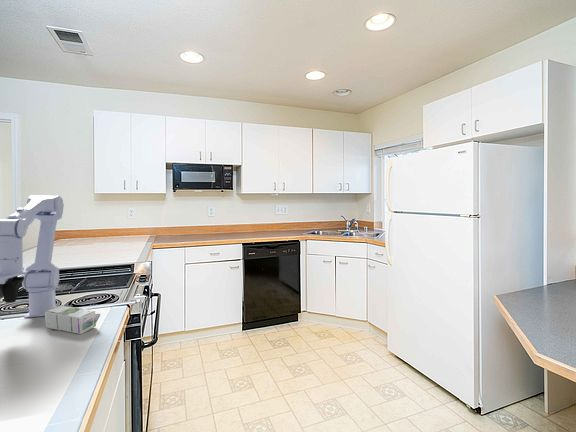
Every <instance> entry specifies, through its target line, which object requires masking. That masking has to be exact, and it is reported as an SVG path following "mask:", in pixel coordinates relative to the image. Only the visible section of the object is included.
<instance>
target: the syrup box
mask: <svg viewBox="0 0 576 432" xmlns="http://www.w3.org/2000/svg"><path fill="white" fill-rule="evenodd" d="M56 306H57V305H56ZM96 314H97V313H96V310H92V309H86V308H81V307H74V306H69V305H68V306H67V305H63V304H60V305H58V306H57V307H55V308H53V309H50V310H48V311H45V316H44V319H45V322H44V323H45V328H48V329H51V330H52V329H57V330H56V331H63V332H68V333H74V334H80V335H82V334H84V333H86V332H88V331H90V330H91V329H93V328H95V327H96V326H97V321H96Z"/></svg>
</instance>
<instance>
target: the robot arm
mask: <svg viewBox="0 0 576 432" xmlns="http://www.w3.org/2000/svg"><path fill="white" fill-rule="evenodd" d="M64 205H65V203H64V200H63V198H62V196H60V195H35V194H31V195H29V196H28V197H27V200H26V205H25V206H24V207H17V208H16V209H15V210H14V211H13V212H12V213H11V214H9V215H8V216H7V217H6V218H1V219H0V291H1V293H2V296H3V299H4V301H5V303H6V304H7V303H9V304H10V303H15V302H16V301H17V300H18V299H17V298H18V295H19V290H20V288H21V286H22V287H23V289H24V290H26V292H28V312H27V313H26V314H25V315H24V318H25V319H26V318H34V317H35V318H37V317H45V311H48V310H50V309H53V308H55V307H57V305H56V300H57V299H56V290H55V289H56V288H57V286H58V285H59V283H60V269H59V267H58V266H57V265H55V264H54V263H52V260H53V259H52V258H53V252H54V246H55V239H56V237H55V236H56V229H57V228H56V227H57V223H58V221H60V220H61V219H62V217H63V214H64ZM35 219H36V220H37V221H39V222H40V226H39V232H38V238H37V245H36V252H35V259H34V263H33V264H31V265H29V266H27V267H26V268H24V266H23V265H24V263H23V261H24V259H23V254H24V253H23V238H25V236H26V234H27V230H28V229H29V226H30V225H31V224H32V223H34V221H35Z"/></svg>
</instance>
